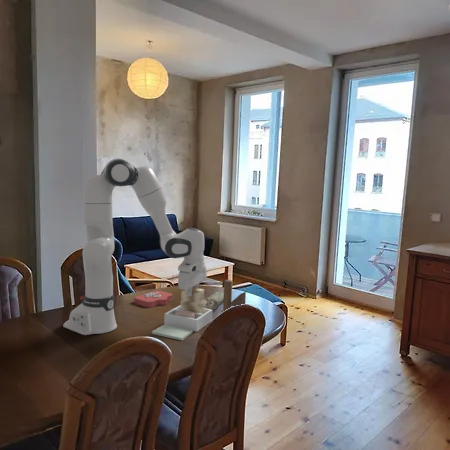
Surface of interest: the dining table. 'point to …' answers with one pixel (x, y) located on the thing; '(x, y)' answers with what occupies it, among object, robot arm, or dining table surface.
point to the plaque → (153, 299)
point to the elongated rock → (214, 300)
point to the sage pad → (172, 332)
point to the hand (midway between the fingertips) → (192, 294)
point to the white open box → (188, 319)
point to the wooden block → (228, 296)
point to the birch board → (193, 300)
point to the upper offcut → (186, 314)
